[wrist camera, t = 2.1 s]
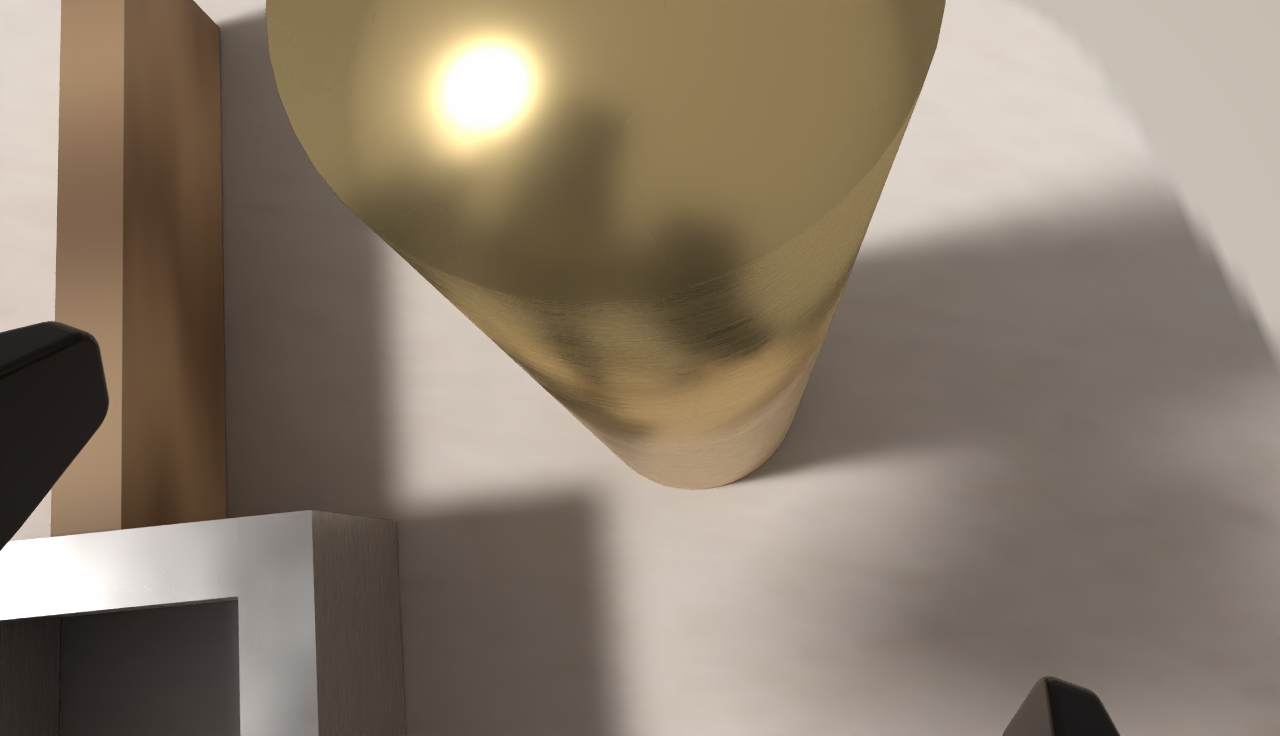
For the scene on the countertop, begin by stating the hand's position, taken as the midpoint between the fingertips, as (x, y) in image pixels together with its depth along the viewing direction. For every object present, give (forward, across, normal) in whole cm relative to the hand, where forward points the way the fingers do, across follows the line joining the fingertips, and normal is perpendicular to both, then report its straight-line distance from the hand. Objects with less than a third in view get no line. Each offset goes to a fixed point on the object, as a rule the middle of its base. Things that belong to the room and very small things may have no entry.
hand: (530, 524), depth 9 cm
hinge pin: (+10, 0, +5) cm, 11 cm away
